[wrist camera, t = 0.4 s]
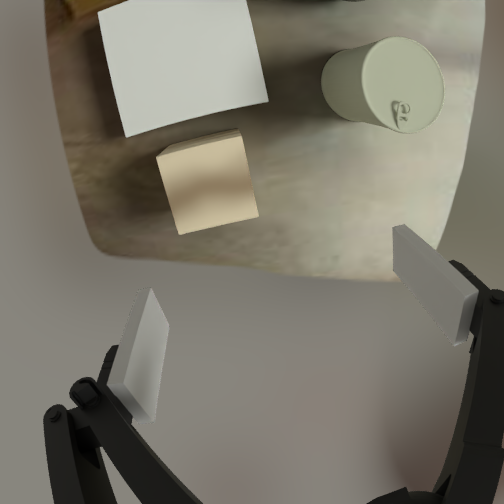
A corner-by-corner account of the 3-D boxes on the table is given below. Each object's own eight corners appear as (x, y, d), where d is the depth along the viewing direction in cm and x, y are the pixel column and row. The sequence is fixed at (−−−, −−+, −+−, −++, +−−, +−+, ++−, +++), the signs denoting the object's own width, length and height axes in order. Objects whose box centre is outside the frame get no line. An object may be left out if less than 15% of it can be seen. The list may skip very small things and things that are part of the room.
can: (316, 115, 35) (356, 124, 24) (324, 42, 31) (366, 22, 20) (385, 127, 36) (442, 144, 25) (393, 59, 32) (452, 53, 21)
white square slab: (109, 19, 27) (97, 12, 23) (237, -15, 27) (238, -27, 23) (135, 133, 34) (126, 137, 30) (263, 101, 33) (268, 101, 30)
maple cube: (169, 145, 35) (155, 157, 28) (237, 128, 35) (241, 135, 28) (187, 208, 39) (179, 234, 31) (251, 193, 38) (258, 216, 31)
